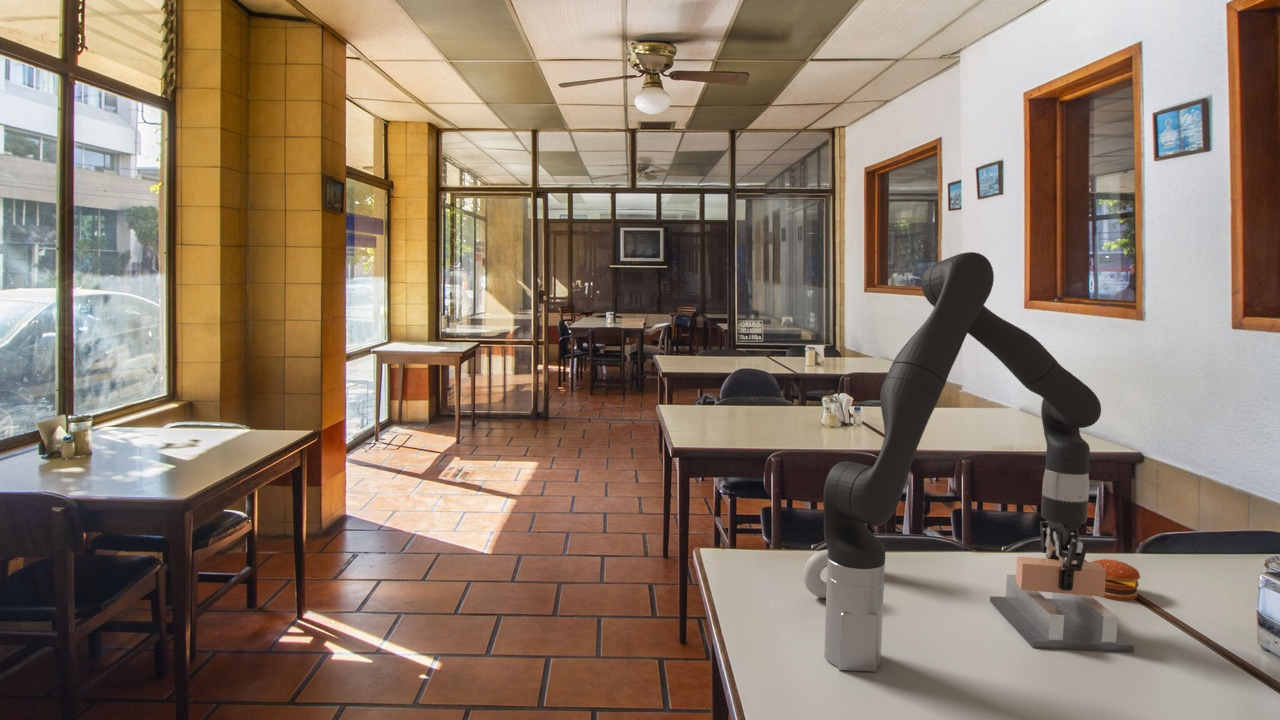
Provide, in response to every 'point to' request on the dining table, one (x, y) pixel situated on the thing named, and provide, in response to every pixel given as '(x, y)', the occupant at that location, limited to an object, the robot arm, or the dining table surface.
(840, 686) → the dining table surface
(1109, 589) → the hamburger
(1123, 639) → the aluminium rail channel
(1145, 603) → the dining table surface
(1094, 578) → the clay strip
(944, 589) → the dining table surface
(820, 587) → the donut
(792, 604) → the dining table surface
